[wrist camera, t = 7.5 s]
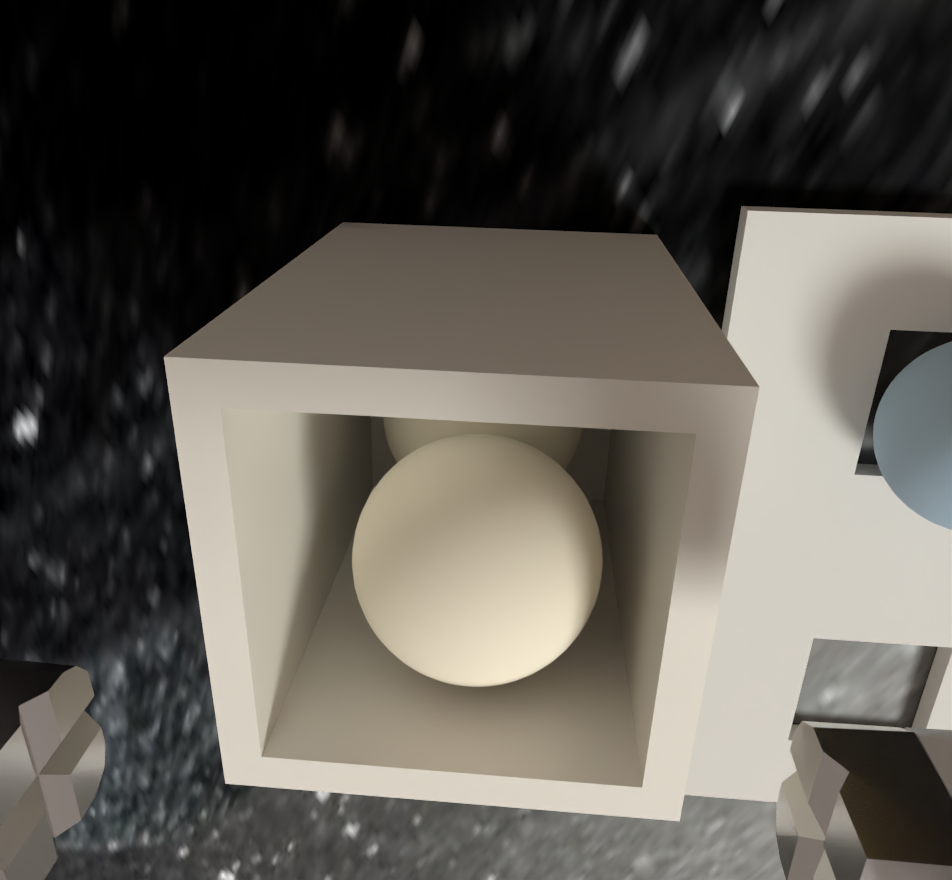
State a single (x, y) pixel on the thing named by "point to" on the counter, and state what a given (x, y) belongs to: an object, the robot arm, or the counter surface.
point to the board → (820, 481)
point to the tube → (369, 458)
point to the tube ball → (420, 432)
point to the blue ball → (919, 435)
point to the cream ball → (477, 560)
